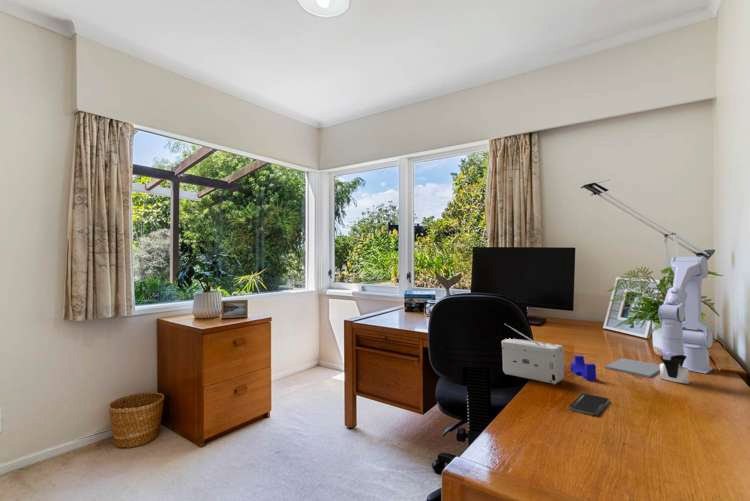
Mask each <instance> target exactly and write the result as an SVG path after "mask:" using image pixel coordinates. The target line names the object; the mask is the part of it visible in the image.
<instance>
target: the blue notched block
mask: <svg viewBox="0 0 750 501" xmlns="http://www.w3.org/2000/svg"><path fill="white" fill-rule="evenodd" d="M569 366H570V371H571V372H572V373H573V374H575V376H581V377H583V379H584V380H585V381H587V382H597V370H596V364H595V363H585V357H584V356H583V355H574V356H573V362H570V364H569Z"/></svg>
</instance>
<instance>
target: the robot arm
mask: <svg viewBox="0 0 750 501" xmlns="http://www.w3.org/2000/svg"><path fill="white" fill-rule="evenodd" d="M670 268H671V270H672V272H673V274H674V276H673V282H672V287H670V288H668V289H667V291H666V295H665V296H664V297H665V298H664V301H663V303H662V304H661V305H659V307H658V310H657V315H658V318H659V324H660V325H661V331H662V332H661V336H662V347H659V348H658V351H660V352H662V355H661V356H660V360H661V361H662V363H664V365H665V367H666V370H667V373H668V376H669V377H672V378H677V374H678V367H679V364H680V366H681V367H686V368H688V370H689V372H695V373H699V374H700V373H701V374H708V373H709V372H711V371H712V370H713V369H714V368H713V367H712V366H710V356H709V355H710V353H709V350H708V349H710V348H711V347H712V346H713V340H714V337H713V333H712V328H711V327H710V326H709V325H708V324H706V323H704V322H703V321H702V320H703V319H702V318H703V316H702V310H703V308H702V281H703V280H704V279H707V278H708V275H709V263H708V259H707V257H705V256H704V255H703V256H702V255H700V256H673V257H672V258H671V261H670Z"/></svg>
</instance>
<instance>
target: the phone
mask: <svg viewBox="0 0 750 501" xmlns="http://www.w3.org/2000/svg"><path fill="white" fill-rule="evenodd" d="M610 403H611V402H610V399H609V398H607V397H603V396H599V395H594V394H589V393H583V392H582V393H581V394H580V395H579V396H578V397H577V398H576V399H575V400H574V401H572V403H570V405H569V406H568V410H569V409H570V410H569V411H571V410H573V411H572V412H575V411H577V412H576V413H578V412H581V413H580V414H582V413H584V415H586V414H588V415H587V416H590V415H592V416H591V417H594V416H598V417H600V415H601V414H602V413H603V412H604V410H605V409H606V408H607V406H608V405H609V404H610Z"/></svg>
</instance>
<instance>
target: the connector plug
mask: <svg viewBox="0 0 750 501" xmlns="http://www.w3.org/2000/svg"><path fill="white" fill-rule="evenodd" d="M659 365H660V372H659V374H660V379H661V380H664V381H669V382H674V383H680V384H685V385H687V384H690V375H689V374H690V373H689V372H690V371H689V370H688V368H686V367H681V366H680V364H679V367H678V374H677V378H672V377H669V376H668V373H667V370H666V367H665V365H664V363H663V362H662V363H659Z"/></svg>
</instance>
